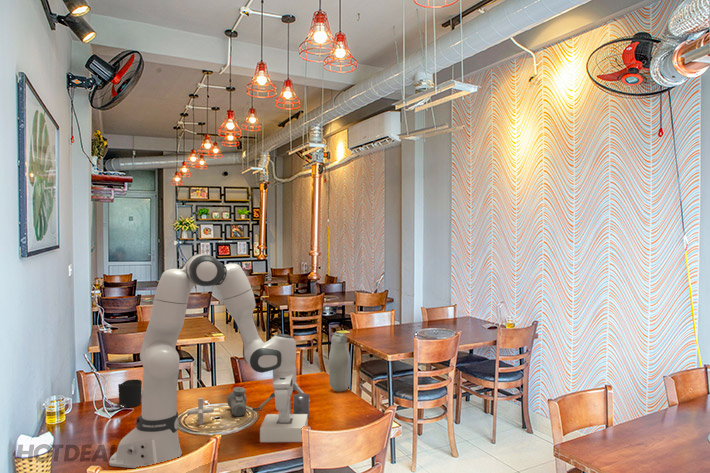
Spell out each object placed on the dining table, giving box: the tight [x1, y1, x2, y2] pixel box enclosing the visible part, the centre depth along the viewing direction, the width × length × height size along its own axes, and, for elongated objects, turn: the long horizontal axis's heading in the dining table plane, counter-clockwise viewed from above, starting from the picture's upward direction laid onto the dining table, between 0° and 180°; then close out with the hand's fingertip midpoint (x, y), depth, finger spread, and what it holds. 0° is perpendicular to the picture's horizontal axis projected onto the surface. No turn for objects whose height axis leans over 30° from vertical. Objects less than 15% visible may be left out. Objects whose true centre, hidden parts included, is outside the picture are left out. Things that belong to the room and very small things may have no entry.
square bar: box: [278, 398, 292, 424], centre depth 182 cm, size 4×4×10 cm
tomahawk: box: [252, 392, 275, 412], centre depth 217 cm, size 22×7×1 cm, turn 167°
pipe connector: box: [186, 397, 215, 425], centre depth 193 cm, size 10×10×10 cm
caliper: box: [292, 381, 311, 403], centre depth 227 cm, size 21×1×6 cm, turn 31°
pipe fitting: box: [226, 386, 247, 418], centre depth 205 cm, size 12×8×10 cm
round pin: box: [292, 392, 310, 419], centre depth 199 cm, size 6×6×9 cm
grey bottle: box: [328, 332, 351, 392], centre depth 234 cm, size 10×10×28 cm
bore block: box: [259, 413, 309, 443], centre depth 182 cm, size 16×14×5 cm
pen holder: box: [118, 379, 143, 408], centre depth 215 cm, size 9×9×10 cm
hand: (284, 413), depth 182 cm, fingers closed on square bar, 4 cm apart
